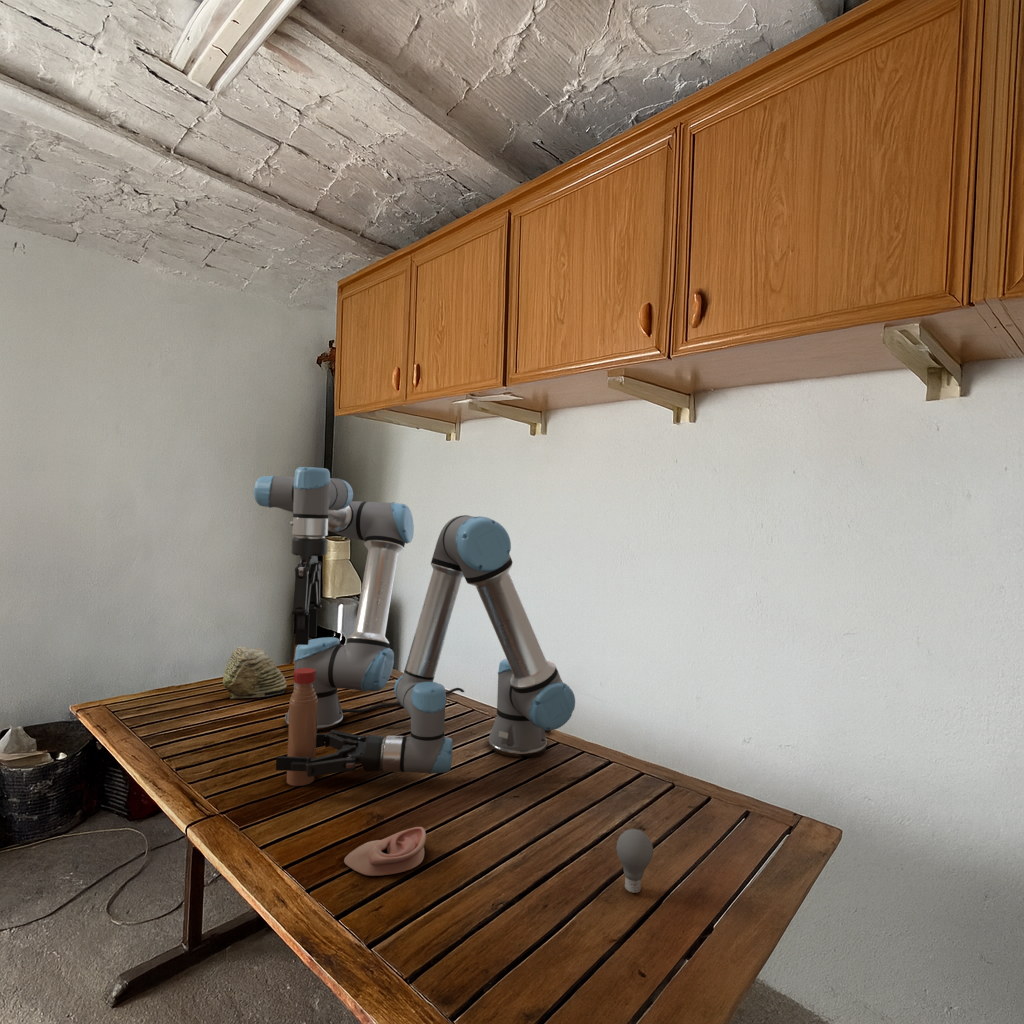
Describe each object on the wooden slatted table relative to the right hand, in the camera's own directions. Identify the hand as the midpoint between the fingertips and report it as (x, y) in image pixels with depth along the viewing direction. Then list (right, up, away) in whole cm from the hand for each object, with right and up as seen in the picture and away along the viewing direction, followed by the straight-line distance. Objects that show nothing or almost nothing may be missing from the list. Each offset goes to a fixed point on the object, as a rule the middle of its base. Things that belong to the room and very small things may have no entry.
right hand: (286, 750), depth 141 cm
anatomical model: (+28, -8, -29) cm, 41 cm away
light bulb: (+70, -10, -35) cm, 79 cm away
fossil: (-30, -4, +57) cm, 65 cm away
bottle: (+3, -7, 0) cm, 7 cm away
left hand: (+4, +25, 0) cm, 25 cm away
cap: (+4, +18, 0) cm, 18 cm away
